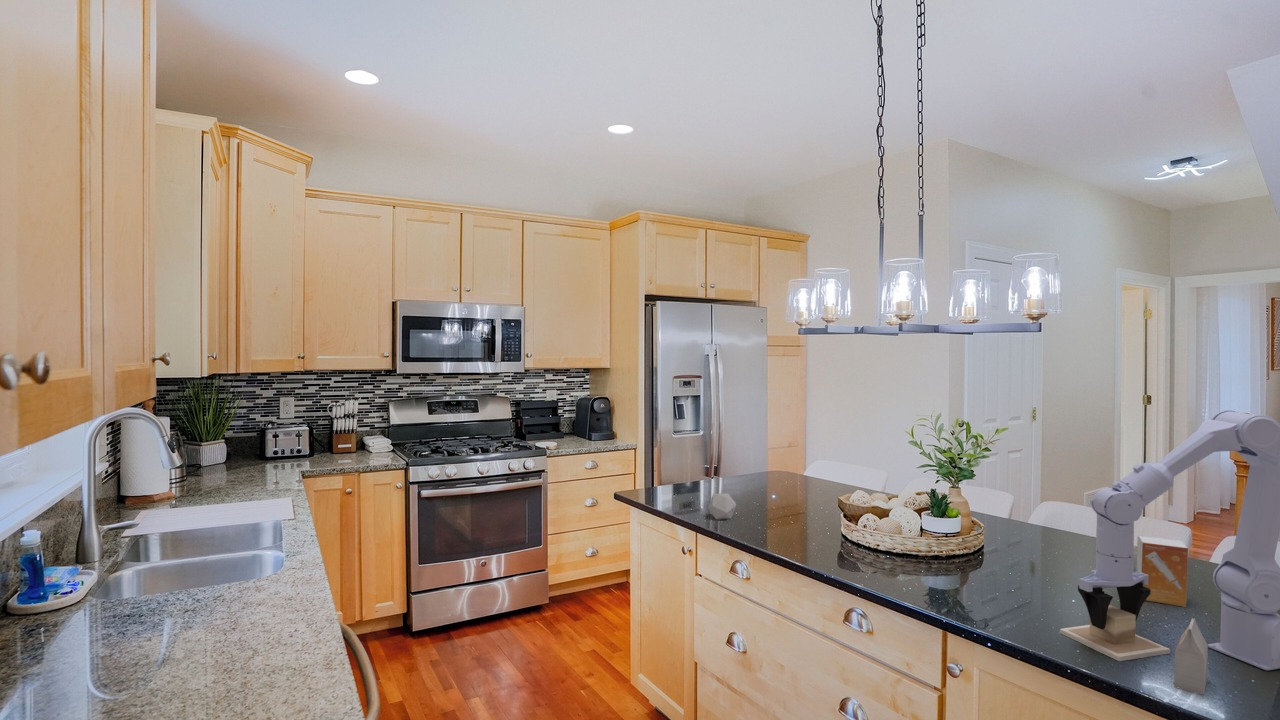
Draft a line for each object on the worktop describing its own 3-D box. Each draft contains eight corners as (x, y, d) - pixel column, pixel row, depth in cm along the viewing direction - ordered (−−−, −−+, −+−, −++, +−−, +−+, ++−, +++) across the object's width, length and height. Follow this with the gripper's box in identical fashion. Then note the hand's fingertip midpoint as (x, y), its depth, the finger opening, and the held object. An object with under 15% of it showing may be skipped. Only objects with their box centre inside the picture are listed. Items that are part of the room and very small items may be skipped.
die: (731, 524, 208) (743, 498, 211) (708, 511, 208) (720, 484, 211) (723, 527, 215) (735, 501, 219) (700, 514, 215) (712, 488, 219)
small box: (1140, 600, 145) (1141, 541, 144) (1135, 591, 150) (1136, 534, 150) (1187, 607, 141) (1188, 547, 140) (1180, 598, 146) (1182, 540, 146)
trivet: (1169, 653, 120) (1170, 648, 120) (1119, 661, 116) (1119, 656, 116) (1107, 626, 131) (1107, 621, 131) (1059, 632, 128) (1059, 628, 128)
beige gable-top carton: (1207, 680, 110) (1208, 621, 110) (1203, 695, 105) (1205, 633, 105) (1178, 672, 113) (1179, 614, 112) (1174, 686, 108) (1175, 626, 108)
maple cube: (1135, 641, 122) (1135, 615, 122) (1114, 644, 121) (1115, 618, 121) (1109, 630, 127) (1109, 605, 127) (1089, 633, 126) (1089, 607, 126)
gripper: (1123, 544, 129) (1122, 612, 129) (1065, 550, 125) (1064, 620, 126) (1160, 555, 122) (1158, 627, 123) (1099, 561, 119) (1098, 636, 119)
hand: (1113, 624), depth 124 cm, fingers open, 7 cm apart
